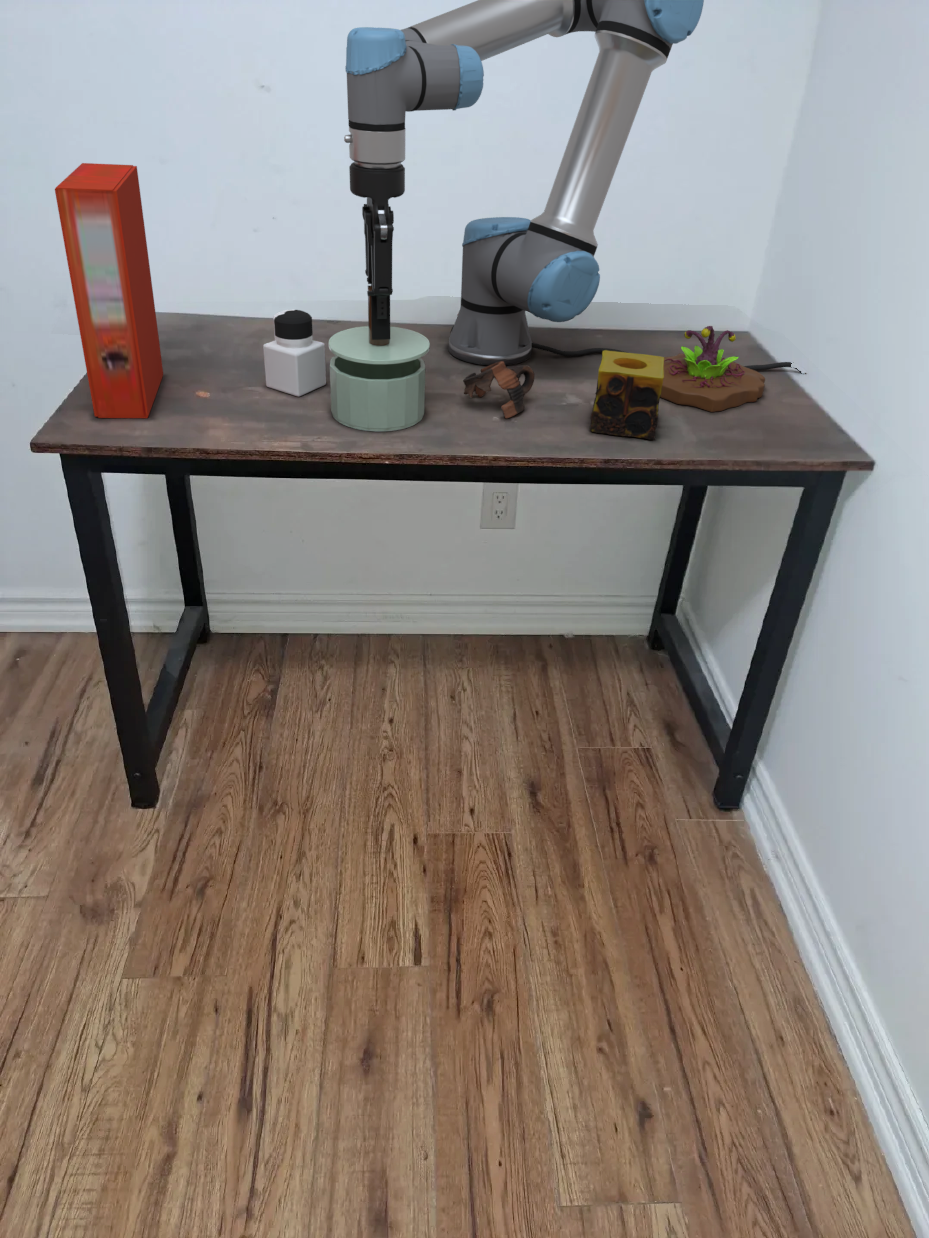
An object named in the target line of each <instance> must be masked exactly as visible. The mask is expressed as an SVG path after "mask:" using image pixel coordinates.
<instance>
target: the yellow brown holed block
mask: <svg viewBox="0 0 929 1238" xmlns="http://www.w3.org/2000/svg"><path fill="white" fill-rule="evenodd" d="M626 352H627V351H624V352H615V351H607V350H604V351H603V352H602V353H601V359H600V364H599V366H598V372H597V383H596V390H595V398H594V401H593V405H592V412H591V416H590V426H589V430H590V432H592V433H596V434H603V435H611V436H616V437H617V436H618V437H628V438H629V437H630V438H631V437H633V438H638V439H643V440H648V441H654V440H655V439H656V438H655V437H656V432H657V425H658V420H659V408H660V407H659V406H660V399H661V390H662V385H663V378H664V370H663V367H664V357H665V356H660V355H652V354H645V353H644V354H643V353H634V352H628V353H626Z"/></svg>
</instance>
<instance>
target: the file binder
mask: <svg viewBox="0 0 929 1238" xmlns="http://www.w3.org/2000/svg"><path fill="white" fill-rule="evenodd" d="M140 187H141V186H140V180H139V171H138V166H137V165H133V164H116V163H93V162H92V163H91V162H81V164H79V165H78V166H77V167H76V168H75V169H73V171H72V172H70V174H68V176H66V177H65V178H64V179H63V180H62V181H61V182H60V183H59V184H57V186H56V187H55V188H54V193H55V194H54V195H55V199H56V205H57V211H58V216H59V222H60V227H61V234H62V239H63V244H64V250H65V251H64V252H65V256H66V262H67V268H68V273H69V279H70V285H71V290H72V295H73V301H74V307H75V311H76V312H75V313H76V319H77V324H78V330H79V336H80V341H81V346H82V352H83V353H82V354H83V357H84V363H85V370H86V373H87V380H88V381H87V382H88V387H89V392H90V398H91V404H92V409H93V414H94V417H96V418H98V419H149V416H150V414H151V410H152V407H153V405H154V403H155V399H156V396H157V394H158V390H159V387H160V385H161V383H162V380H163V377H164V368H163V359H162V351H161V346H160V345H161V344H160V336H159V329H158V321H157V314H156V307H155V305H156V304H155V297H154V291H153V282H152V275H151V267H150V259H149V251H148V243H147V235H146V227H145V219H144V212H143V211H144V210H143V204H142V203H143V202H142V197H141V188H140Z"/></svg>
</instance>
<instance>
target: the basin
mask: <svg viewBox="0 0 929 1238" xmlns="http://www.w3.org/2000/svg"><path fill="white" fill-rule="evenodd" d="M329 360H330V361H329V381H330V382H329V383H330V385H329V386H330V387H329V388H330V411H331V415H332V417H333V419H334V420H335V421H336V422H338V423H339V424H341V425H343V426H345V427H348V428H350V429H354V430H360V431H364V432H365V431H366V432H376V433H377V432H378V433H379V432H382V433H383V432H384V433H385V432H394V431H400V430H404V429H408V428H410V427H413V426H416V425H417V424H419V423H420V422H421V421H422V420H423V418H424V417H425V416H424V415H425V400H426V399H425V398H426V397H425V395H426V394H425V393H426V362H425V360H424V359H422V357H421V358H418V359H416V360H412V361H409V362H404V363H397V364H365V363H358V362H353V361H349V360H346V359H343V358H341V357H338V356H336V355H335V354H334V356H332V357H331V358H330V359H329Z"/></svg>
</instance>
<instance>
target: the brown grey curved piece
mask: <svg viewBox="0 0 929 1238" xmlns="http://www.w3.org/2000/svg"><path fill="white" fill-rule="evenodd" d="M522 375H524V381H523V383H522V384H521V381H520V378H521V376H522ZM494 379H495V380H496V381H497V384H498V387H500V388H501V390H504V391H506V392H507V394H508V396H509V397H510V398H509V399H510V400H509V401H508V402H506V403H504V404H503V405H501V410H502V412H503V415H504V419H505V420H506V419H510V418H512V417H514V416H515V415H517V414H519V413H522V412H523V411H524V410H525V401H524V400H525V399H524V397H525V396H526V394H527V393H529V392H530V390H531V389H532V387H533V386H534V383H535V372H534V371H533V369H532V367H530V366H529V365H523V364H522V365H519V366H517V367H514V368H508V367H507V365H505V363H504V361H500V362H497V363H494V364H492V365H486V366H485V367H483V368H481V369H480V373H476V372H472V373H470V374H469V375H467V376H466V377H465V378H463V380H462V382H463V383H464V386H465V387H464V390H463V395H468V396H469V397H470V398H471V399H472V398H473V397H474V393H475V395H476V396H477V397H478V398H480V399H481V398H482V397H483V396H484V395H486V393H488V392H491V391H492V387H491V386H492V382H493V380H494Z"/></svg>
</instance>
